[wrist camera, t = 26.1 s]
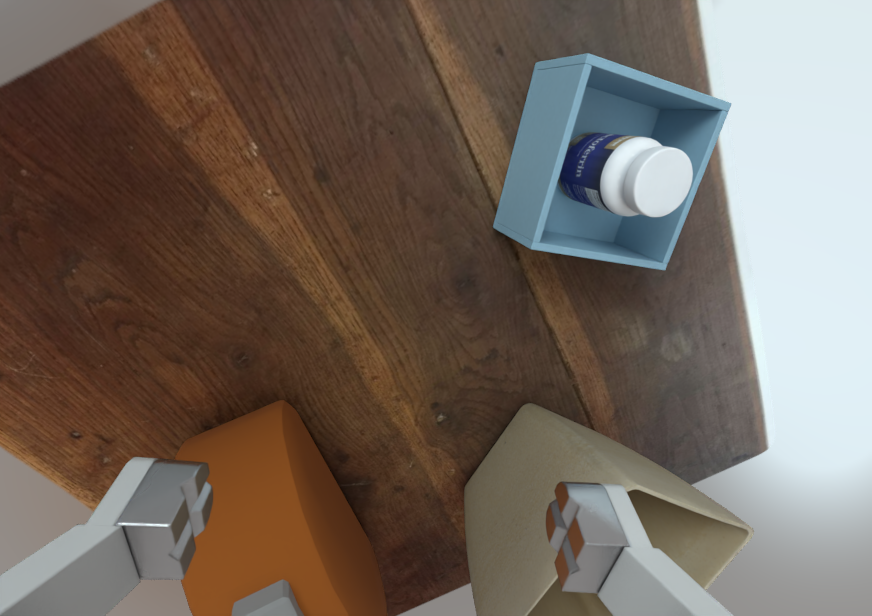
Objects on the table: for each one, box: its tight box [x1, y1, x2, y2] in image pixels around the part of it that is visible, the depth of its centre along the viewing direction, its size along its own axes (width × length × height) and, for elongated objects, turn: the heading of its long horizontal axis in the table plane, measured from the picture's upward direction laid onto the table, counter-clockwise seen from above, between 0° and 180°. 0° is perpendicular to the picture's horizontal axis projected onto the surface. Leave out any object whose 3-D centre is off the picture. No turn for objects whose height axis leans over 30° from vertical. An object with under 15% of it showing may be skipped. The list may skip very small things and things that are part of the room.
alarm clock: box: [175, 400, 387, 616], centre depth 37 cm, size 23×9×17 cm, turn 17°
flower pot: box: [464, 403, 754, 616], centre depth 46 cm, size 19×19×17 cm
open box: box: [493, 53, 731, 270], centre depth 37 cm, size 13×13×7 cm
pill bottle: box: [557, 132, 693, 217], centre depth 36 cm, size 6×6×10 cm
